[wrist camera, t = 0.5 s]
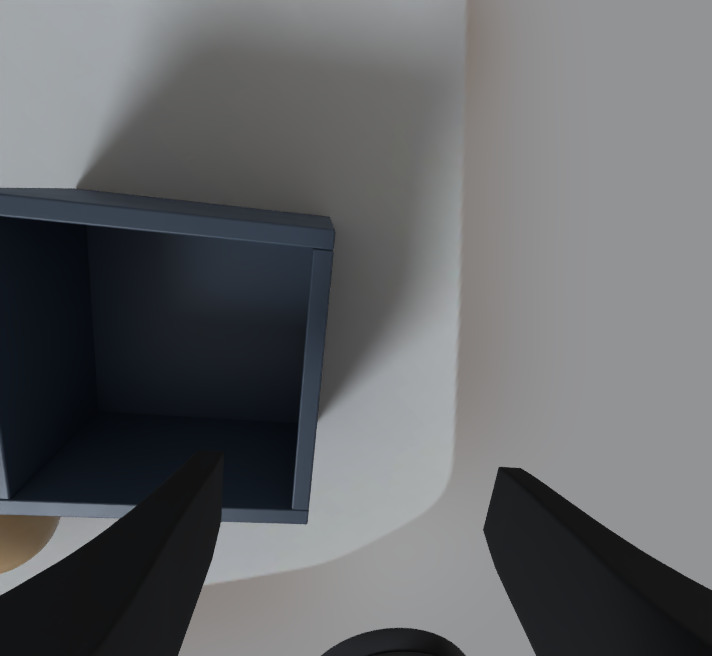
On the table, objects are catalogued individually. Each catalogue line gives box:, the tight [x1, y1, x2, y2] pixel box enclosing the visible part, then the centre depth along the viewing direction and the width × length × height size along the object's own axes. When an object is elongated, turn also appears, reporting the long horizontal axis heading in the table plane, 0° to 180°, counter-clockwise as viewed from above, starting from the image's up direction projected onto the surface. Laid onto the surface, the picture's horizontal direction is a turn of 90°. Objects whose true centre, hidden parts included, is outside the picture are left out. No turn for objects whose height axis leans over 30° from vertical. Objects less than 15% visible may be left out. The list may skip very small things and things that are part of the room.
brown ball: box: [0, 515, 60, 574], centre depth 19 cm, size 4×4×4 cm
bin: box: [0, 188, 335, 524], centre depth 16 cm, size 10×10×6 cm
